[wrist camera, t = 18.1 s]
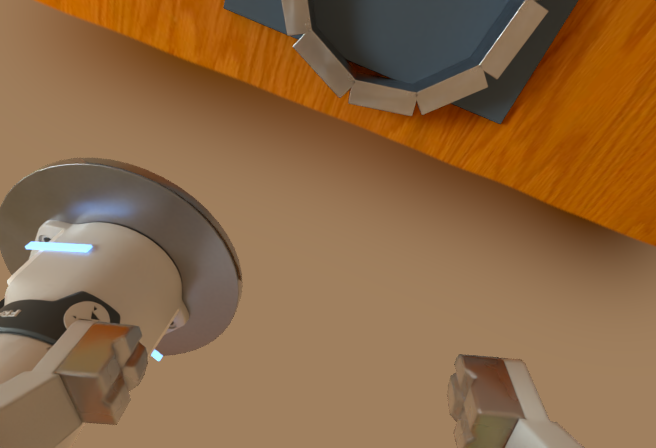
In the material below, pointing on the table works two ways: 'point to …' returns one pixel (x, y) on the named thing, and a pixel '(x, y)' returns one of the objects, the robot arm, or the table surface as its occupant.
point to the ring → (427, 92)
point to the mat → (422, 39)
